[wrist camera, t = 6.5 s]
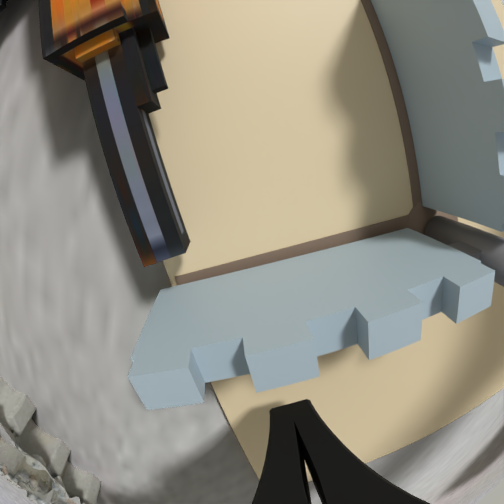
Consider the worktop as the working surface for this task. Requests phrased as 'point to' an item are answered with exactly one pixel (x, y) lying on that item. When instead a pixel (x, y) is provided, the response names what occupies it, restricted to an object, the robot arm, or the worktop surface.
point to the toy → (122, 105)
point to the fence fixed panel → (452, 101)
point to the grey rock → (39, 457)
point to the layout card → (310, 200)
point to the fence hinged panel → (312, 310)
